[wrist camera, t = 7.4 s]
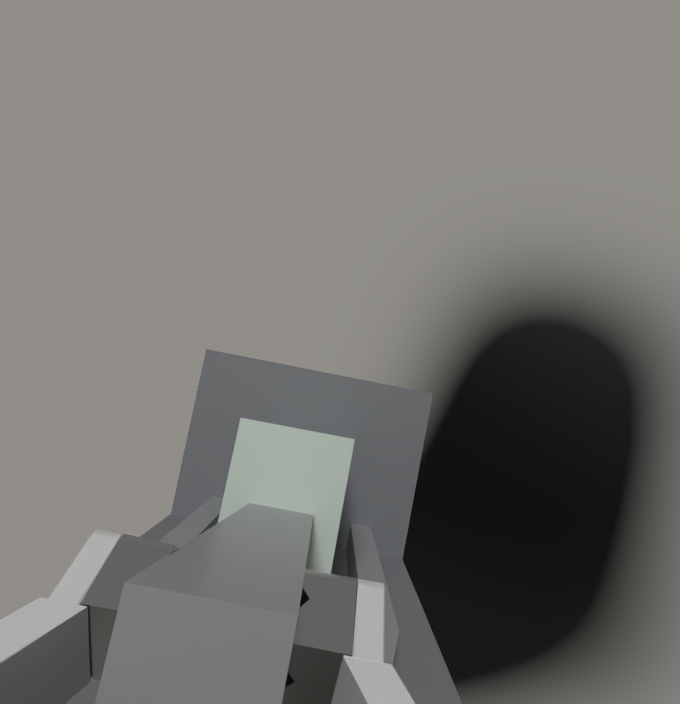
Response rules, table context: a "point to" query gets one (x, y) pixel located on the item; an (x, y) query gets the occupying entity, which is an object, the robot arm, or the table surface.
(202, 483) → the caddy bay
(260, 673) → the pale block gray handle
